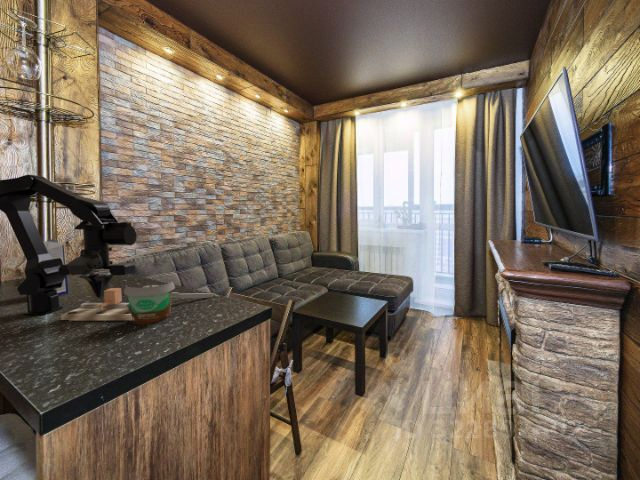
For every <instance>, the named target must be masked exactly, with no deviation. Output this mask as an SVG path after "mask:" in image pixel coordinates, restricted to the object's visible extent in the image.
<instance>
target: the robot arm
mask: <svg viewBox="0 0 640 480" xmlns="http://www.w3.org/2000/svg"><path fill="white" fill-rule="evenodd" d="M37 194H39V195H42V196H44V197H46V198H48V199H49V200H52V201H53V202H55V203H57V204H59V205H62V206H63V207H66V208H67V209H68V210H69V211H70V212H71V214H72V215H74V217H76V218H78V220H81V221H80V223H79V224H77V225H76V226H75V227H74V230H78V231H79V230H82V235H83V249H80V251H79V256H78V257H75V258H74V259H72V260H70V261H69V262H67V263H66V264H63V262H62V260H61V258H55V259H54V258H53V257H52V256H50V255H49V253H48V251H47V249H46V247H45V245H44V242H43V241H44V240H43V238H42V236H41V234H40V232H39V229H38V227H37V225H36V222H35V220H34V218H33V216H32V214H31V212H30V206H31V203H32V199H31V197H32V196H34V195H36V196H37ZM0 211H1V212H3V213H4V214H5V216H6V218H7V220H8V222H9V224H10V227H11V229H12V231H13V233H14V235H15V238H16V239H17V242H18V244H19V246H20V249H21V250H22V253H23V255H24V257H25V259H26V264H25V267H24V271H23V272H24V275H25V279H24V280H23V281H22V282H21V283H20V284H19V285H18V287H17V288H16V289H17V291H18V294H19V296H26V304H27V307H26V308H27V311H24V312H22V316H23V315H24V316H27V315H28V316H29V315H31V316H32V315H36V316H37V315H47V314H50V313H53V312H55V311H58V310H60V309H63V305H60V299H59V297H60V296H58V295H57V290H55V289H57V288H61V287H62V284H63V280H64V279H65V277H66V275H67V276H70V275H71V276H76V275H79V276H78V278H79V279H83V280H85V281H87V282H88V284H89V285H90V286H91V289H92V291H93V293H94V294H95V296H96V298H98V299H101V298H104V291H105V290H107V288H108V285H109V284H110V281H111V279H112V278H113V277H114V276H126V275H129V274H132V273H134V272H136V265H135V264H134V262H120V263H116V264H115V263H114V261H113V260H110V252H111V251H112V250H113V249H112V247H111V246H133V245H134V244H135V243H136V241H137V237H138V233H137V232H136V230H135V228H134V227H133V226H132V221H122V222H120V220H118V219H117V217H116V216H115V214H113V212H112V211H111V209H110V206H109V204H107V203H106V202H103V201H100V200H97V199H94V198H88V197H84V196H81V195H79V194H77V193H75V192H73V191H72V190H69V189H68V188H65V187H63V186H61V185H59V184H57V183H55V182H53V181H51V180H49V179H47V178H46V177H44V176H42V175H38V174H37V175H36V174H25V175H21V176H18V177H13V178H8V179H2V180H0ZM109 246H110V247H109ZM113 263H114V264H113Z"/></svg>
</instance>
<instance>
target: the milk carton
mask: <svg viewBox="0 0 640 480" xmlns="http://www.w3.org/2000/svg"><path fill="white" fill-rule="evenodd" d="M58 241H59V240H58V239H51V238H47V240H45V241H44V240H43V242H44V245H45V247H46V249H47V251H48V253H49V255H50V256H52V257H53V258H54V259H55V258H61V260H62V262H63V264H67V260H66V258H67V257H66V247H65V245H66V244H64V243H59V242H58ZM55 290H57V295H58V297H60V296H64V295H67V294H69V284H68V275H66V277H65V279H64V280H63V284H62V287H61V288H57V289H55Z"/></svg>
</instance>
